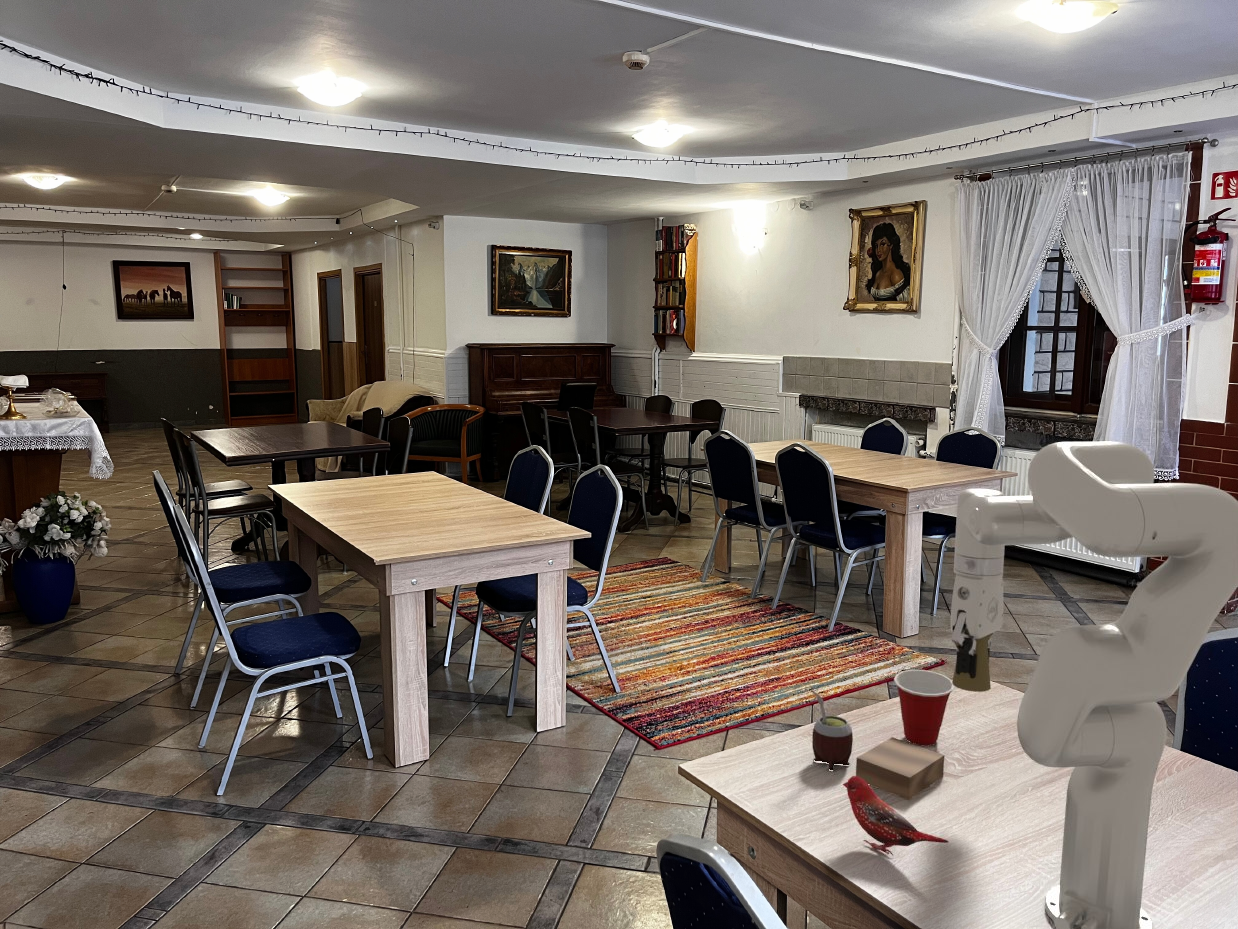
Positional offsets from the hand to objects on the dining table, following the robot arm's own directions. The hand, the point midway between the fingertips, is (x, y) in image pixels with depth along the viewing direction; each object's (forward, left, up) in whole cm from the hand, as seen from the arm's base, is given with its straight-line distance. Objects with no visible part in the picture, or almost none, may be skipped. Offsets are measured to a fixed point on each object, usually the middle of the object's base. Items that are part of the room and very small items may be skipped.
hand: (972, 671), depth 153 cm
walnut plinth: (-4, +10, -21) cm, 24 cm away
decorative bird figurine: (-27, -1, -21) cm, 34 cm away
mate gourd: (-8, +21, -21) cm, 31 cm away
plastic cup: (+13, +15, -21) cm, 29 cm away
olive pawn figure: (0, 0, -3) cm, 3 cm away
